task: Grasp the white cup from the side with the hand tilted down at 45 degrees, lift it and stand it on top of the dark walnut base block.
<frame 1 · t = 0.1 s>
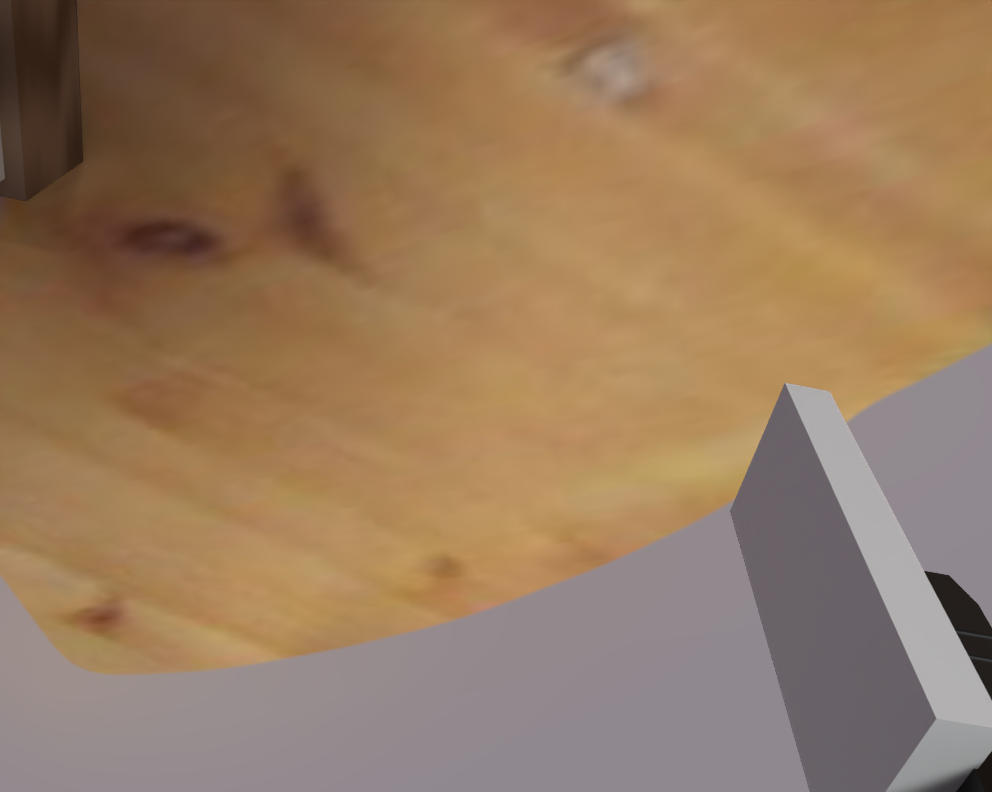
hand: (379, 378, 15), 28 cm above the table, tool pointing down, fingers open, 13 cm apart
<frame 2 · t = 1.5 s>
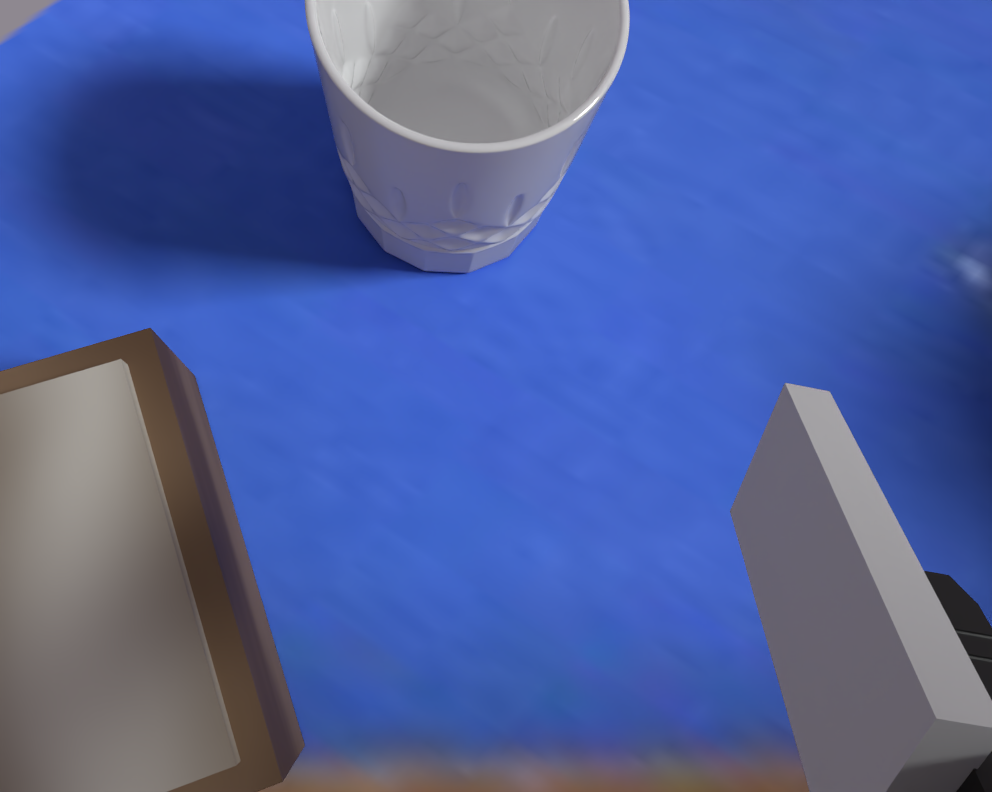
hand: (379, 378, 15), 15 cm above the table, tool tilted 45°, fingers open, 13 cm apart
base: (51, 620, 27), on the table
white cup: (447, 186, 32), on the table
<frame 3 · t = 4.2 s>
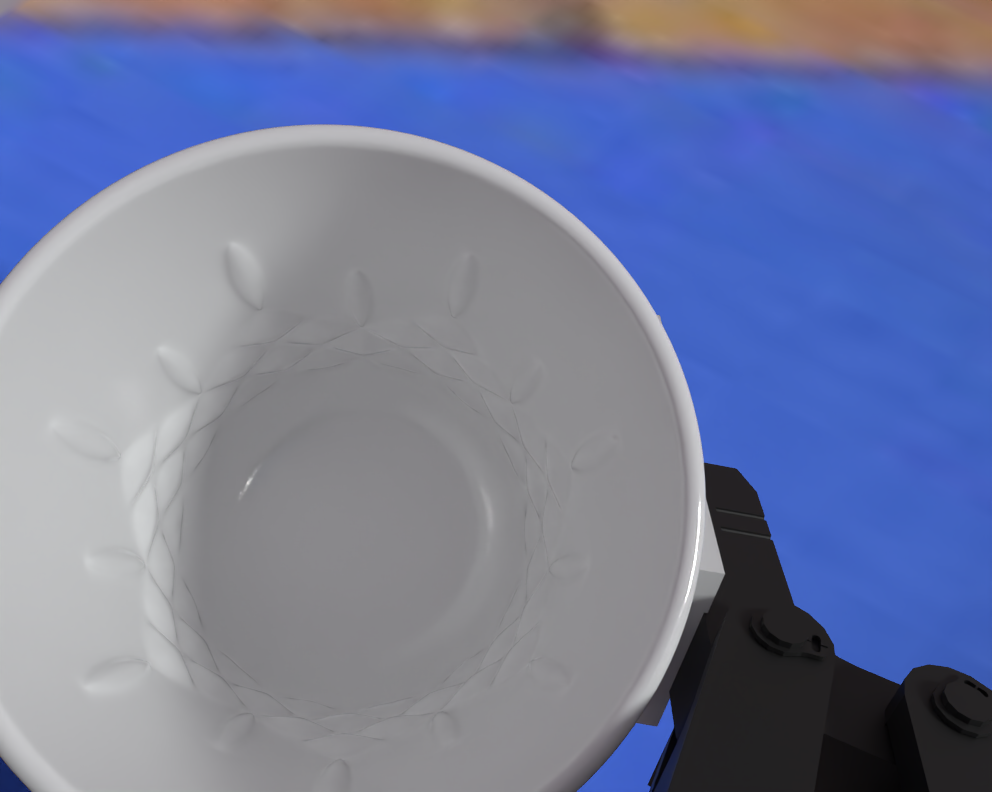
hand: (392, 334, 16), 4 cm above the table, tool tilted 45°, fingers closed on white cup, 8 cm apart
white cup: (362, 538, 19), on the table, touching gripper
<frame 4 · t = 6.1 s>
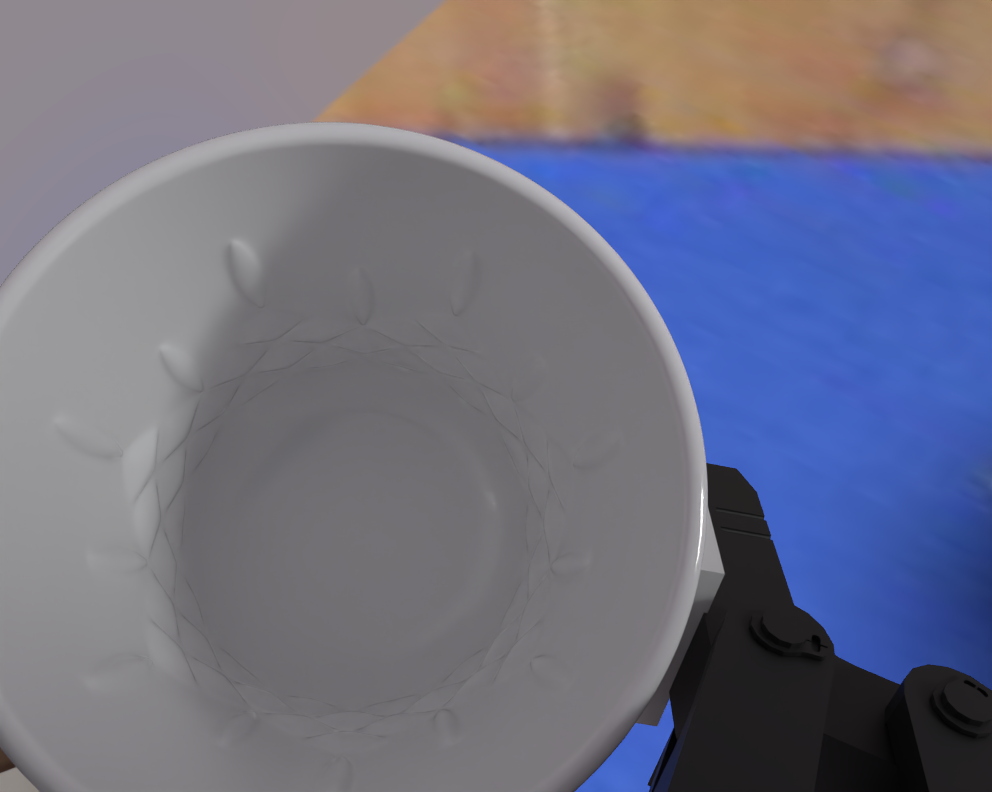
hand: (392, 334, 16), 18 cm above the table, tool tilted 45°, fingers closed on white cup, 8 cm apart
white cup: (363, 537, 19), point 14 cm above the table, touching gripper
when the fingers open (11 cm above the table, at t = 8.2 s): white cup drops 1 cm, resting on base.
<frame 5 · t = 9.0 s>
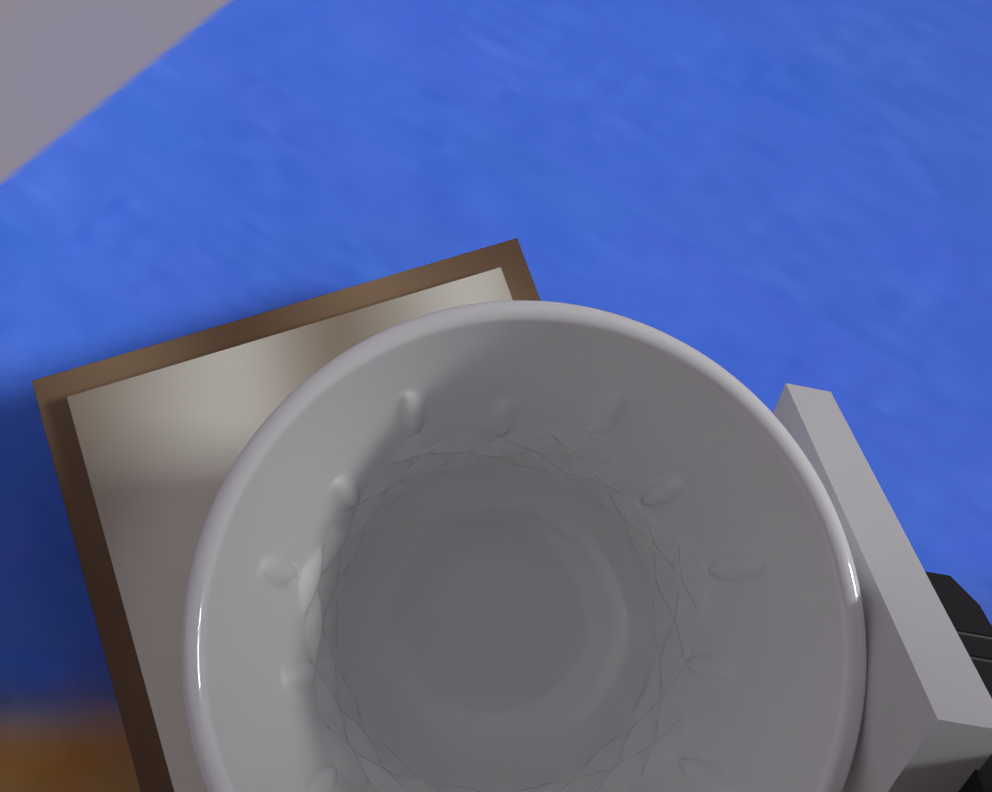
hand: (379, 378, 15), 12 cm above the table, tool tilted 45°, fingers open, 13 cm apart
base: (368, 553, 26), on the table
white cup: (490, 620, 20), point 6 cm above the table, touching base, gripper
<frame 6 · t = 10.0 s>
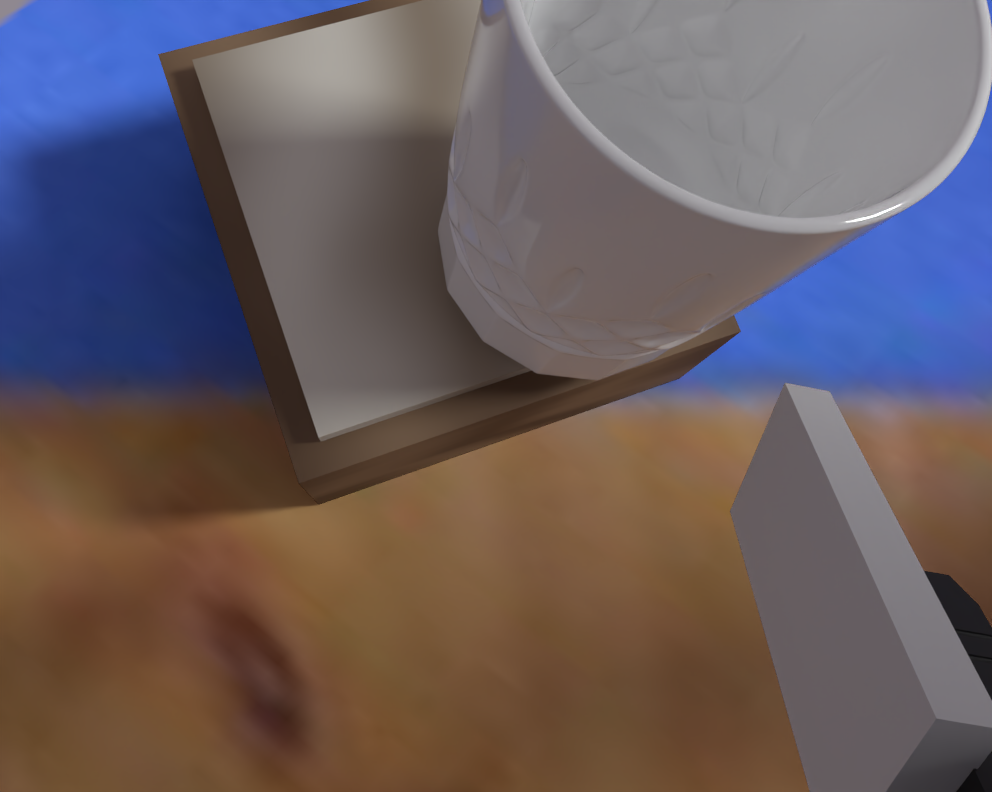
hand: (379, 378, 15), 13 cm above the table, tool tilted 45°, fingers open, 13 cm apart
base: (440, 265, 29), on the table
white cup: (567, 256, 23), point 6 cm above the table, touching base
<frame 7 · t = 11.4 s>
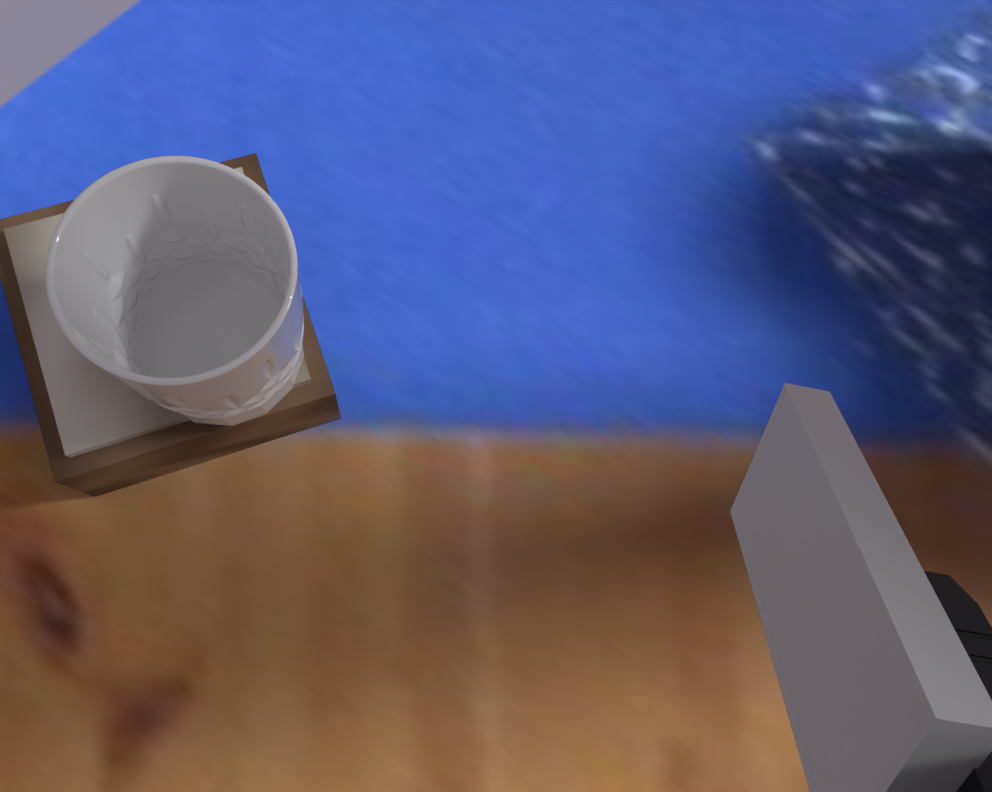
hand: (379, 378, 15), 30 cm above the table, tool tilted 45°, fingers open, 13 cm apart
base: (186, 342, 45), on the table
white cup: (225, 351, 39), point 6 cm above the table, touching base
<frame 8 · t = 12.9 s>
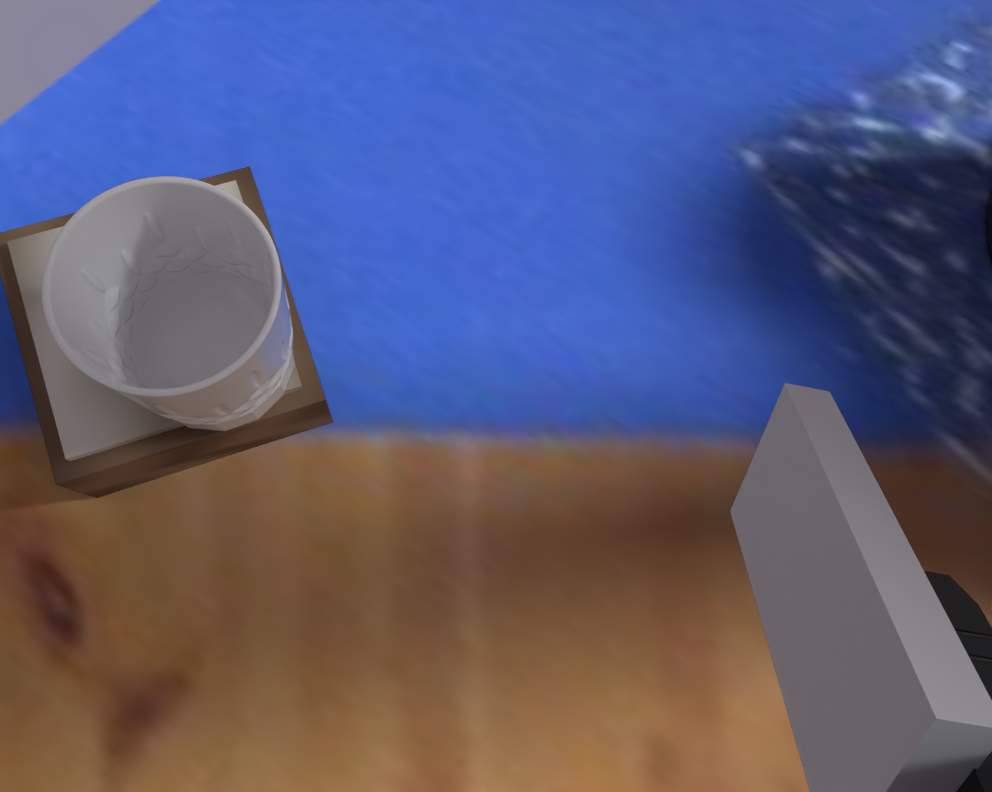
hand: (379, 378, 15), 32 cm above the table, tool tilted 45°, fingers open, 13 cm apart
base: (184, 349, 46), on the table
white cup: (219, 359, 41), point 6 cm above the table, touching base
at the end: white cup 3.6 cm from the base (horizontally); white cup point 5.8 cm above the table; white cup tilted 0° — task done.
